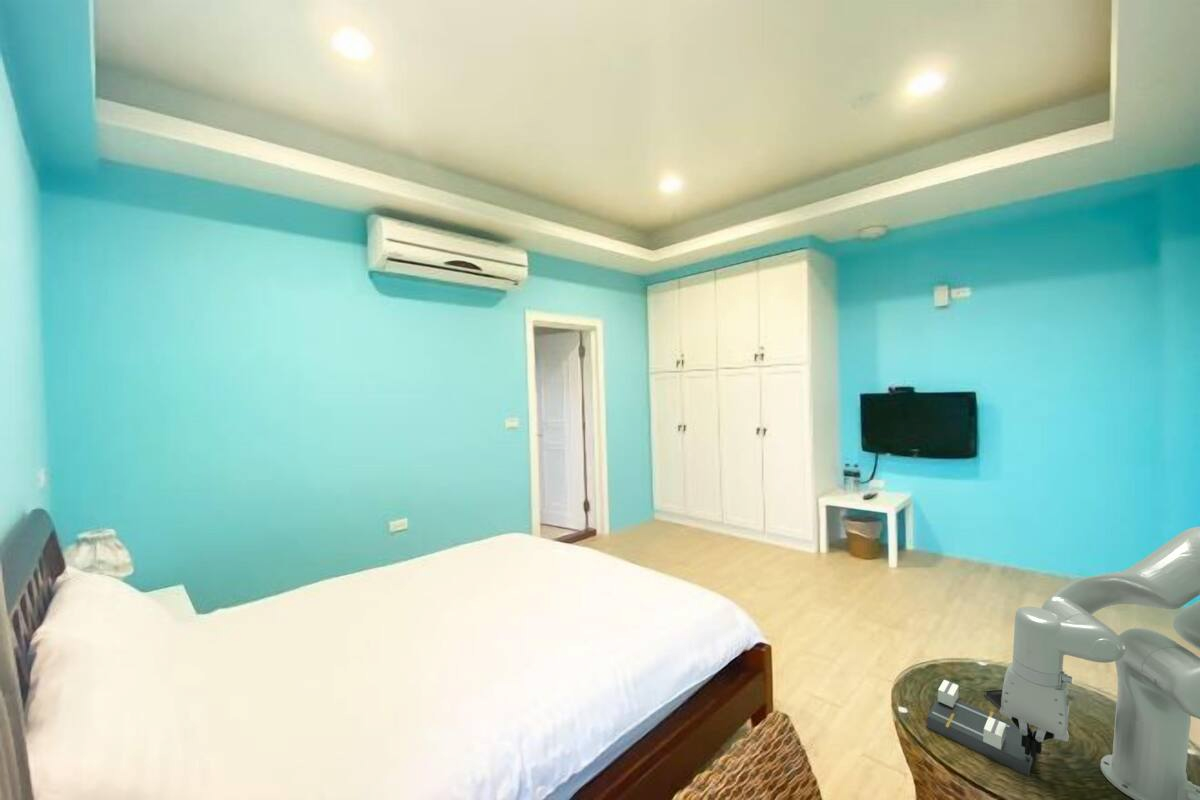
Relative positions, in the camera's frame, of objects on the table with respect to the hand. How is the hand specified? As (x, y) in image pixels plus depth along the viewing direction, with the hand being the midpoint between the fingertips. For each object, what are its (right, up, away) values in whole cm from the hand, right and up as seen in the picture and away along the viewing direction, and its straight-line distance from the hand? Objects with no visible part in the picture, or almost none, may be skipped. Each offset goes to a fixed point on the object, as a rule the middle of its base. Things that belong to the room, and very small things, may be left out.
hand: (1030, 752), depth 101 cm
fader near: (-4, 0, +5) cm, 6 cm away
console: (-3, -3, +9) cm, 10 cm away
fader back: (-5, +1, +17) cm, 17 cm away
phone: (+15, -2, +19) cm, 24 cm away
